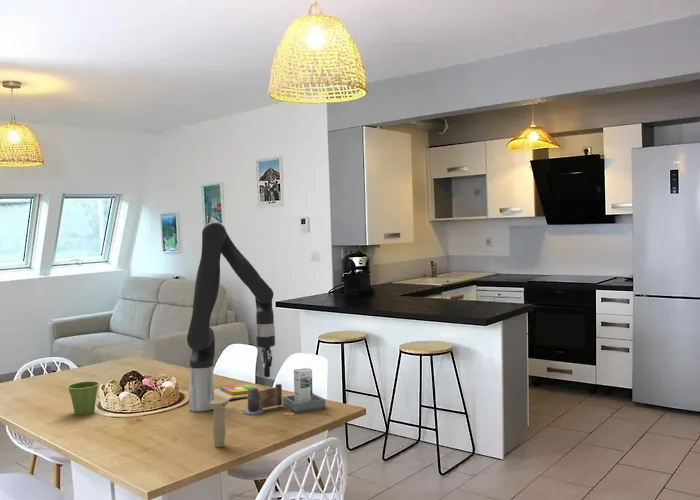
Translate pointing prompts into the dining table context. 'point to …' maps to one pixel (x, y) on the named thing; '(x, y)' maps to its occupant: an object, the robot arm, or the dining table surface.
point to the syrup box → (303, 385)
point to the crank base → (259, 412)
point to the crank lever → (264, 397)
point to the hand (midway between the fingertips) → (267, 376)
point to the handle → (218, 421)
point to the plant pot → (83, 396)
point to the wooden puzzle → (234, 391)
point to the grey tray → (303, 404)
